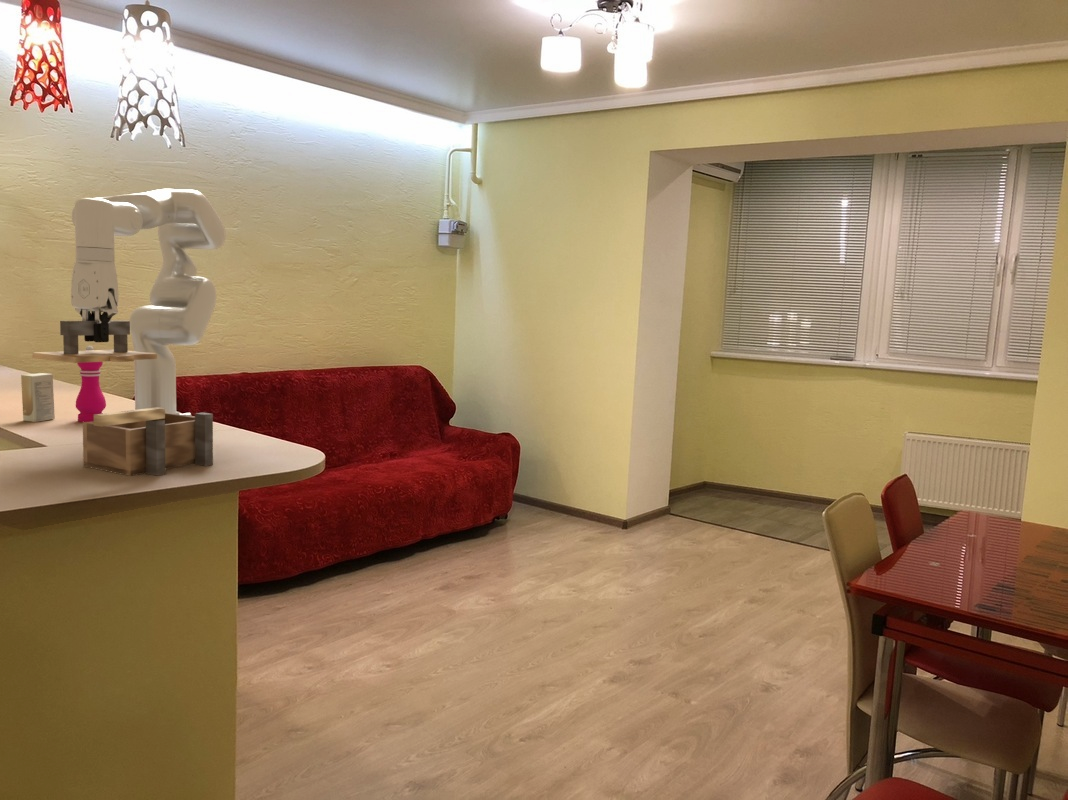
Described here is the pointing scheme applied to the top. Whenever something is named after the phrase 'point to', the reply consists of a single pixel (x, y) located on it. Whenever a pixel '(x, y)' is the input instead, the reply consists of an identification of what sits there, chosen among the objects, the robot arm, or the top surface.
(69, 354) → the toolbox lid
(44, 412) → the skincare box
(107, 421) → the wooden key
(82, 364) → the pepper mill
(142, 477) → the top surface
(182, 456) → the toolbox
